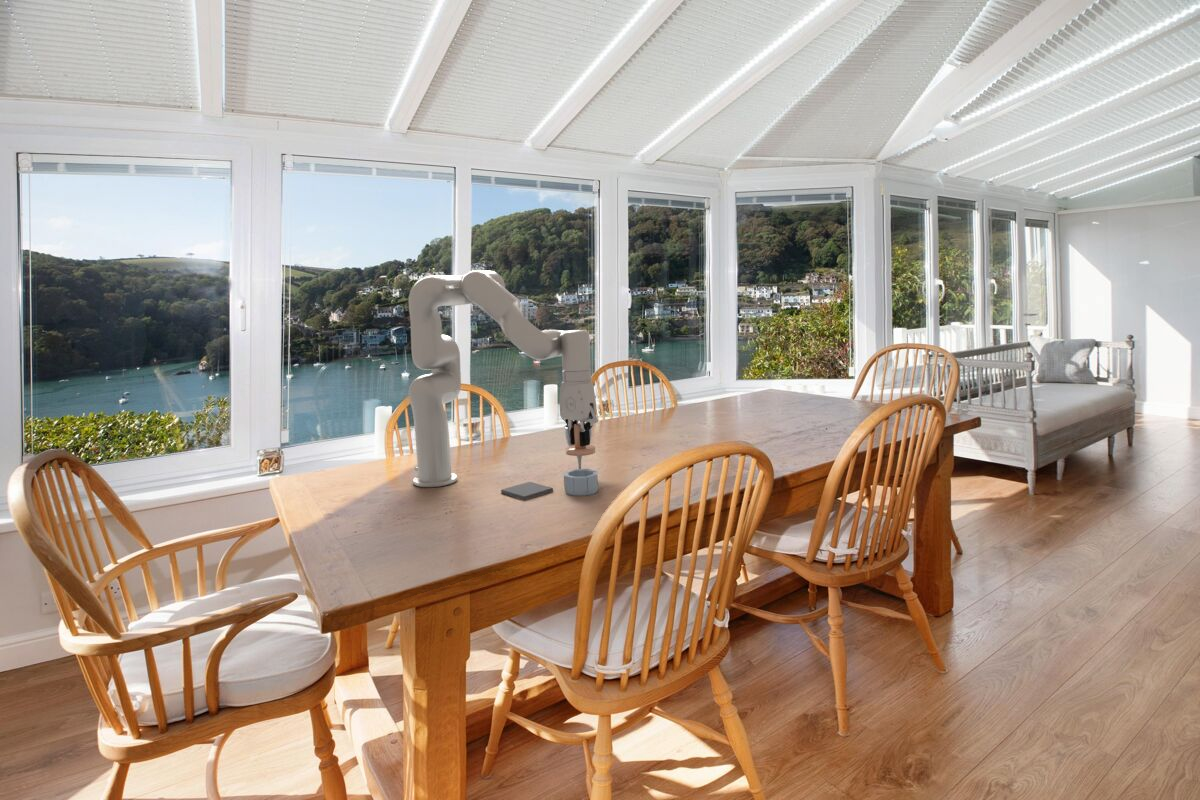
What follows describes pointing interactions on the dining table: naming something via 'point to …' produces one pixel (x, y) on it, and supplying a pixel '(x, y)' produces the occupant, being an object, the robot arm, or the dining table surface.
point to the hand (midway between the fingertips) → (580, 444)
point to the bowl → (581, 482)
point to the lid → (578, 449)
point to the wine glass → (567, 435)
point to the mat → (527, 490)
